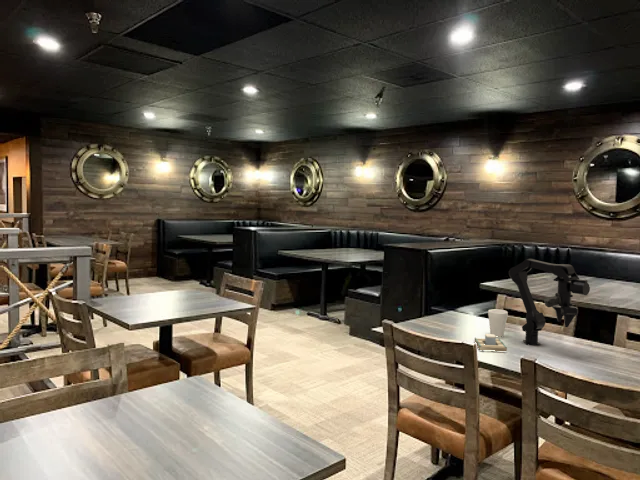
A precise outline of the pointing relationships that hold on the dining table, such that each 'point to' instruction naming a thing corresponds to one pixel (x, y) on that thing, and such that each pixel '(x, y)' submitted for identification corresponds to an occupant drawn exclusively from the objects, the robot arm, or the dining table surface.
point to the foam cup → (497, 321)
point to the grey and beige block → (490, 339)
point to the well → (497, 347)
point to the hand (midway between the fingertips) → (562, 324)
